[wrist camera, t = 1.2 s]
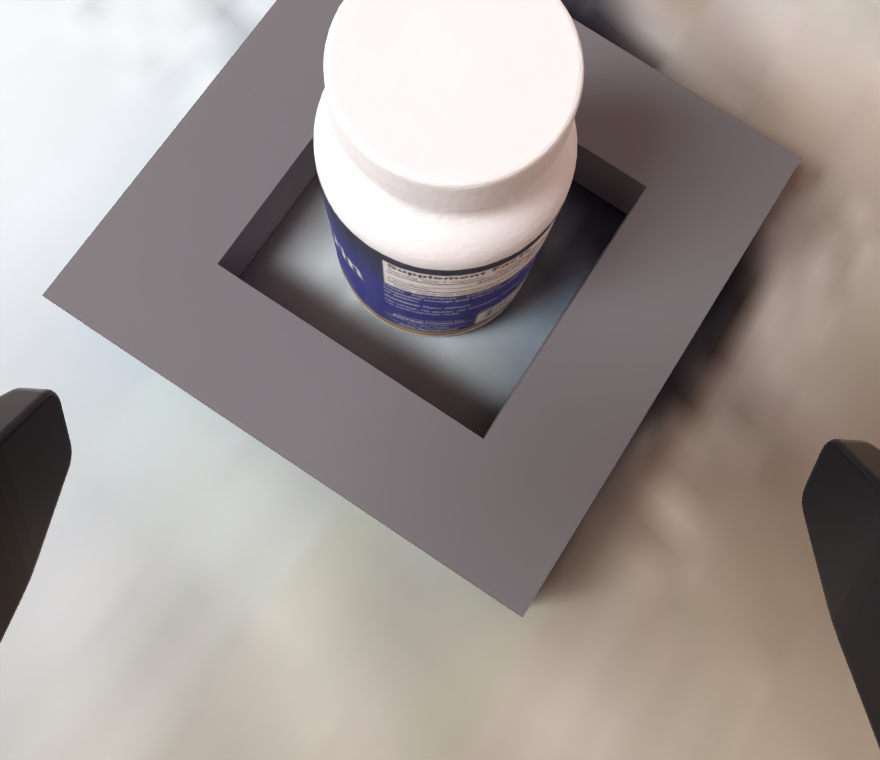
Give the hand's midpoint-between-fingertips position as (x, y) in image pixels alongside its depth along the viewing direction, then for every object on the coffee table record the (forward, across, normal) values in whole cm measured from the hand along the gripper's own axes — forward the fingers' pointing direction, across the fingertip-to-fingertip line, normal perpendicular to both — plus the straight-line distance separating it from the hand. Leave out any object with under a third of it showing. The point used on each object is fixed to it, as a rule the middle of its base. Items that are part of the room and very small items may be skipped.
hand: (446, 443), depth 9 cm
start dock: (+14, 0, +4) cm, 15 cm away
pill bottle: (+15, 0, +4) cm, 15 cm away
